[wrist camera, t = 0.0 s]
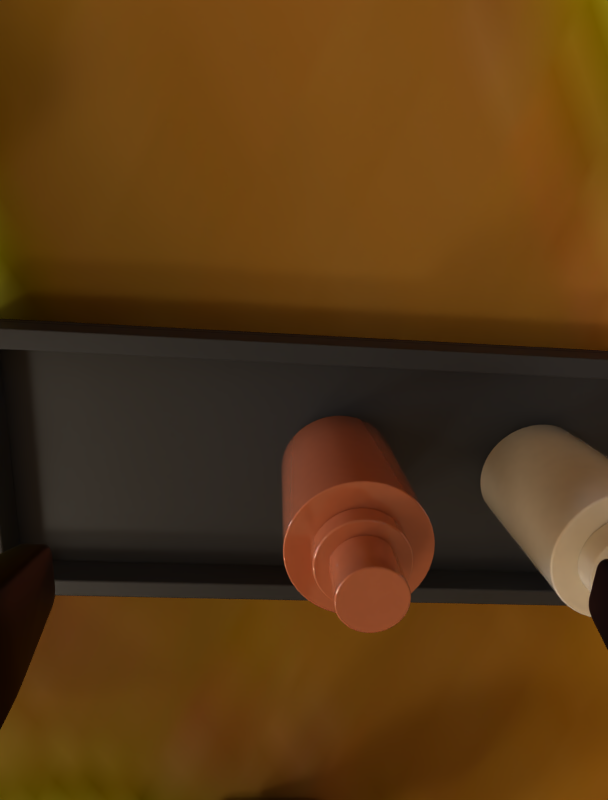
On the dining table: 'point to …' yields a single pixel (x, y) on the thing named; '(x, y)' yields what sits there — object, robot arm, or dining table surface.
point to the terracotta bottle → (352, 524)
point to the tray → (260, 449)
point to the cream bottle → (552, 505)
